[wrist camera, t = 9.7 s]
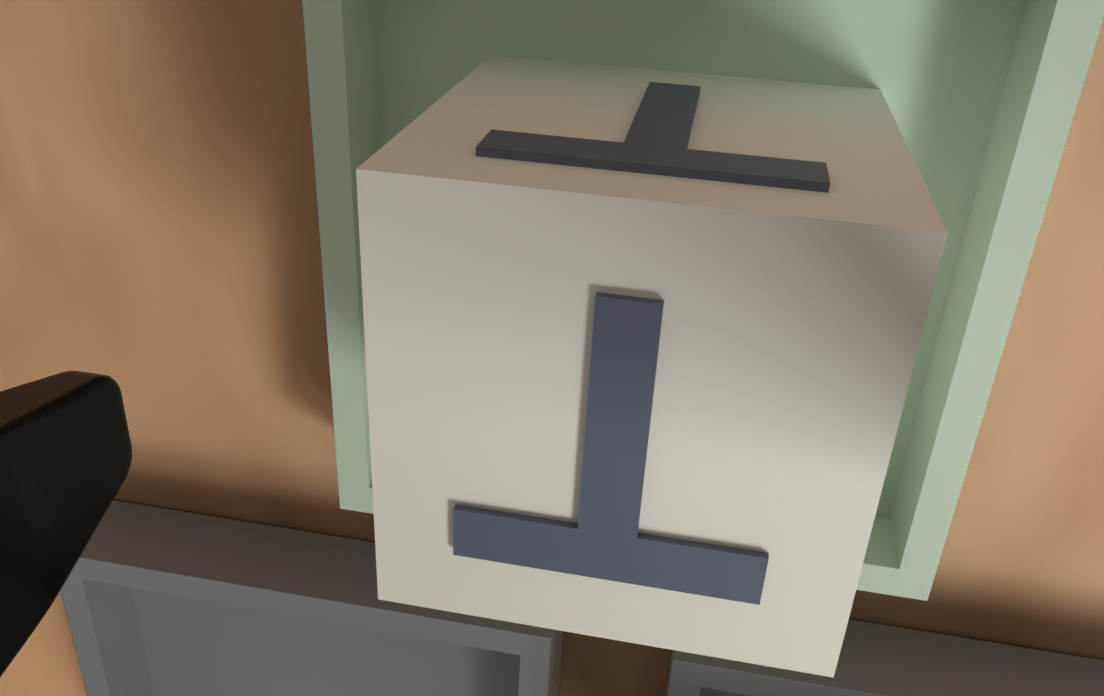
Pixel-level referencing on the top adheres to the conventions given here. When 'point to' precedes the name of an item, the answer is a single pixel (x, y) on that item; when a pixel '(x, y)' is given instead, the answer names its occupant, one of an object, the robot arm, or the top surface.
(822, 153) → the letter cube
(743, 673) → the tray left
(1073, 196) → the top surface
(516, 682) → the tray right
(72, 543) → the robot arm
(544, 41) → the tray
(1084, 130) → the top surface
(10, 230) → the top surface
